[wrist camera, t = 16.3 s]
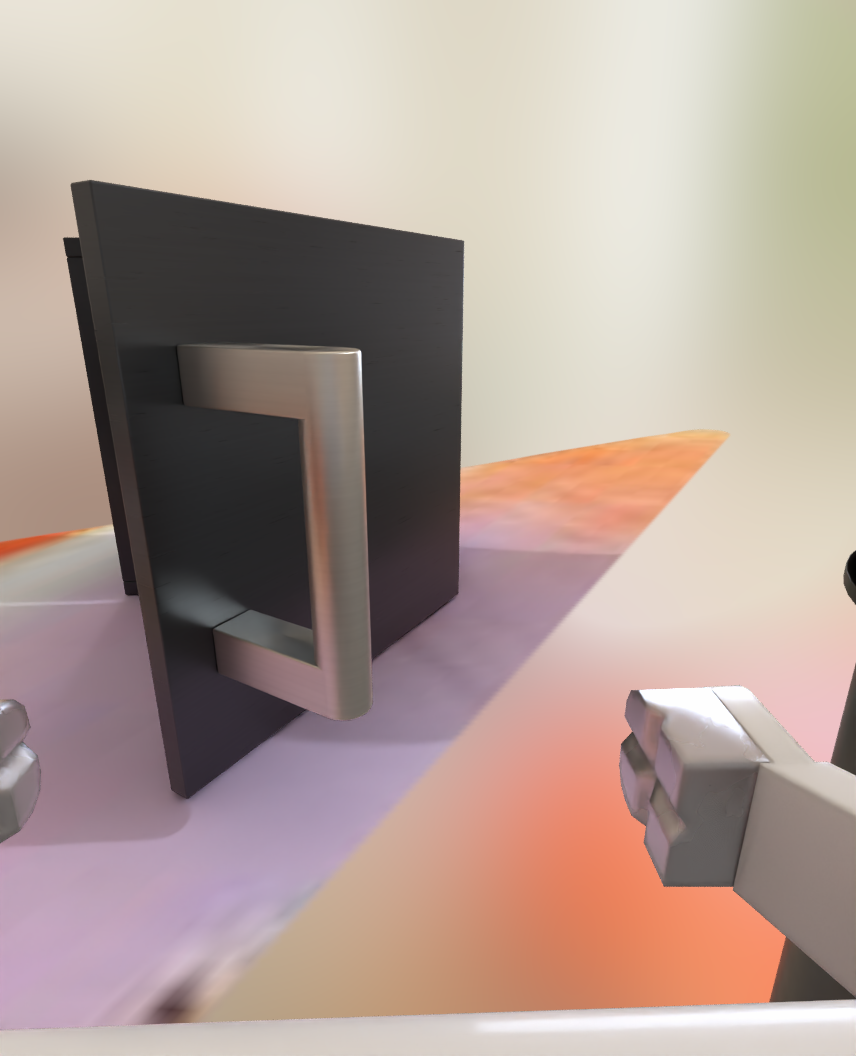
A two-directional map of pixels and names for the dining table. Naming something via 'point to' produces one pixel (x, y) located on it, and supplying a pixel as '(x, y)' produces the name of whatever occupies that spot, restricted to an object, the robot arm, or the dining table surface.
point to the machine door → (274, 451)
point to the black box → (100, 410)
